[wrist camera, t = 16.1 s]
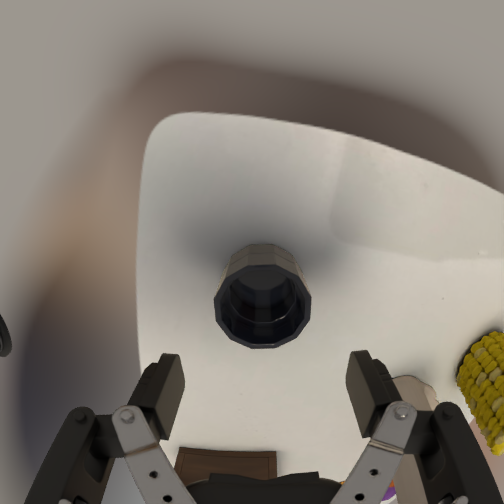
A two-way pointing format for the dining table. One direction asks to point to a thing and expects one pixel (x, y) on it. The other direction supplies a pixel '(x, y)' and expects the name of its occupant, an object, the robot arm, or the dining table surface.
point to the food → (486, 388)
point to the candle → (407, 473)
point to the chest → (224, 464)
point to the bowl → (262, 297)
